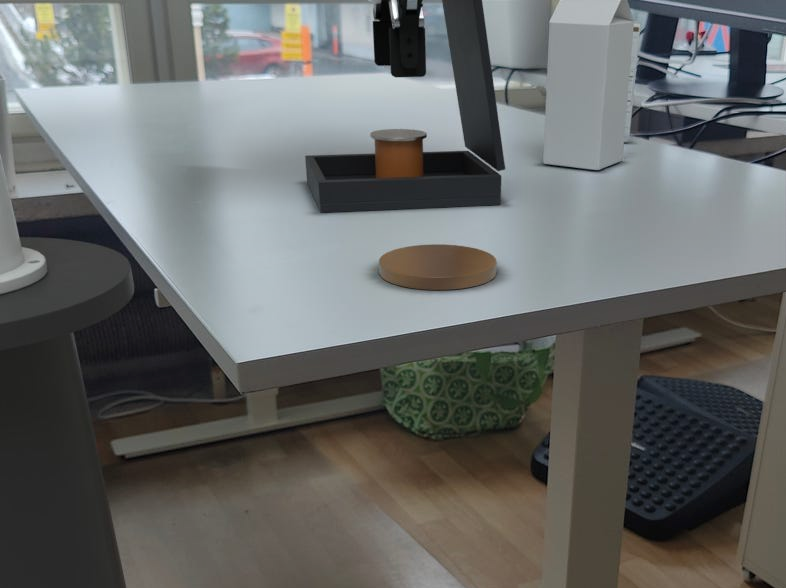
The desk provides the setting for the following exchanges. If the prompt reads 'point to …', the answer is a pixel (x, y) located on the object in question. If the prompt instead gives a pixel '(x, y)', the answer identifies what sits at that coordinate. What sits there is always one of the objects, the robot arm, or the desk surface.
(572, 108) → the milk carton
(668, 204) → the desk surface
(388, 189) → the tray
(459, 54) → the holder lid
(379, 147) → the coffee pod
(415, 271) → the coaster
